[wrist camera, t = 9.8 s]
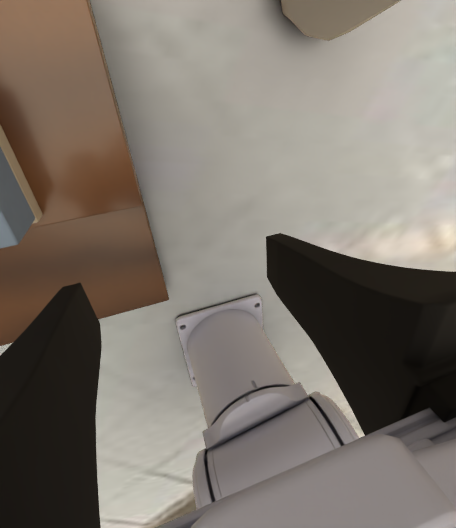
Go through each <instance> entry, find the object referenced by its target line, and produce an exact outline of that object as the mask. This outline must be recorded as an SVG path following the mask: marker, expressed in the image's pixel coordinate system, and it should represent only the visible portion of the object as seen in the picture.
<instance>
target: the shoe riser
mask: <svg viewBox="0 0 456 528" xmlns="http://www.w3.org/2000/svg"><path fill="white" fill-rule="evenodd" d="M0 125H1V127H2V129H3V131H4V133H5V135H6V137H7V140H8V142H9V144H10V146H11V148H12V150H13V152H14V154H15V157H16V159H17V161H18V163H19V165H20V167H21V169H22V171H23V173H24V176H25V178H26V180H27V182H28V184H29V186H30V188H31V190H32V193H33V195H34V197H35V199H36V201H37V203H38V205H39V207H40V210H41V212H42V214H43V215H42V217H41V218H40V220H39V222H37V223H33V224H31V226H30V227H29V229H28V230H27V232H26V234H25V235H24V237H23V238H22V240H21V241H20V243H19V244H18V245H14V246H9V247H5V248H0V346H2V345H5V344H9V343H13V342H14V341H15V340H16V339H17V338H18V337H19V336H20V335H21V334H22V333H23V332H24V331H25V329H26V328H27V327H28V326H29V325H30V324H31V323H32V322H33V320H34V319H35V318H36V317H37V316H38V315H39V313H40V312H41V311H42V310H43V309H44V308H45V306H46V305H47V304H48V303H49V302H50V300H51V299H52V298H53V297H54V296H55V295H56V293H57V292H58V291H59V290H60V289H61V288H62V287H64V286H69V285H73V284H77V283H81V284H82V286H83V289H84V291H85V293H86V295H87V297H88V299H89V301H90V304H91V306H92V308H93V310H94V312H95V314H96V316H97V318H98V319H101V318H104V317H108V316H112V315H115V314H119V313H123V312H126V311H130V310H134V309H137V308H141V307H145V306H148V305H152V304H156V303H159V302H163V301H167V300H169V297H168V292H167V288H166V285H165V281H164V277H163V273H162V270H161V266H160V262H159V258H158V255H157V251H156V247H155V243H154V240H153V236H152V232H151V228H150V225H149V221H148V217H147V213H146V210H145V206H144V202H143V198H142V195H141V191H140V187H139V183H138V180H137V176H136V172H135V168H134V165H133V161H132V157H131V153H130V150H129V146H128V142H127V138H126V135H125V131H124V127H123V123H122V120H121V116H120V112H119V108H118V105H117V101H116V97H115V93H114V90H113V86H112V82H111V78H110V75H109V71H108V67H107V63H106V60H105V56H104V52H103V48H102V45H101V41H100V37H99V33H98V30H97V26H96V22H95V18H94V15H93V11H92V7H91V3H90V0H0Z"/></svg>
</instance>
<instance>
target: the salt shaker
mask: <svg viewBox="0 0 456 528" xmlns="http://www.w3.org/2000/svg"><path fill="white" fill-rule="evenodd" d="M399 1H401V0H281V5H282V11H283V14H284V15H285V16H286V17H288V18H289V19H290V20H291V21H292V22H293V23H294V24H295V25H296V26H297V27H298V28H299V29H300V31H301V32H302V33H303V34H304V35H306V36H310V37H314V38H318V39H322V40H332V39H334V38H336V37H339V36H341V35H344V34H346V33H349V32H351V31H352V30H354V29H356V28H357V27H359V26H360V25H362V24H364V23H365V22H367V21H369V20H370V19H372V18H373V17H375V16H377V15H378V14H380V13H382V12H383V11H385V10H386V9H388V8H390V7H391V6H393V5H395V4H396V3H398V2H399Z"/></svg>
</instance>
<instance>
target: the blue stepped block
mask: <svg viewBox="0 0 456 528" xmlns="http://www.w3.org/2000/svg"><path fill="white" fill-rule="evenodd" d="M42 215H43V214H42V212H41V210H40V207H39V205H38V203H37V201H36V199H35V197H34V195H33V193H32V190H31V188H30V186H29V184H28V182H27V180H26V178H25V176H24V173H23V171H22V169H21V167H20V165H19V163H18V161H17V159H16V157H15V154H14V152H13V150H12V148H11V146H10V144H9V142H8V140H7V137H6V135H5V133H4V131H3V129H2V127H1V125H0V248H5V247H9V246H14V245H18V244H19V243H20V241H21V240H22V238H23V237H24V235H25V234H26V232H27V230H28V229H29V227H30V226H31V224H33V223H37V222H39V220H40V218H41V217H42Z"/></svg>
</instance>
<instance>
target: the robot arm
mask: <svg viewBox="0 0 456 528" xmlns="http://www.w3.org/2000/svg"><path fill="white" fill-rule="evenodd" d="M266 249H267V278H268V280H269V281H270V283H271V285H272V287H273V289H274V290H275V292H276V294H277V296H278V297H279V298H280V300H281V301H282V302H283V304H284V305H285V306H286V307H287V309H288V310H289V311H290V313H291V314H292V315H293V316H294V318H295V319H296V320H297V322H298V323H299V324H300V325H301V327H302V328H303V329H304V331H305V332H306V333H307V334H308V336H309V337H310V339H311V340H312V341H313V343H314V345H315V346H316V348H317V349H318V351H319V353H320V354H321V356H322V357H323V359H324V361H325V362H326V364H327V366H328V368H329V369H330V371H331V373H332V374H333V376H334V378H335V380H336V381H337V383H338V385H339V387H340V389H341V390H342V392H343V394H344V396H345V398H346V400H347V401H348V403H349V405H350V407H351V409H352V411H353V413H354V415H355V417H356V419H357V421H358V423H359V425H360V427H361V429H362V430H363V432H364V434H365V436H363V437H361V438H359V437H358V435H357V433H356V432H355V430H354V429H353V427H352V425H351V424H350V422H349V421H348V419H347V418H346V417H345V415H344V414H343V412H342V411H341V410H340V408H339V407H338V406H337V405H336V404H335V403H334V402H333V400H331V399H330V398H329V397H327V396H324V395H321V394H320V393H318V392H313V393H312V394H310V395H307V393H306V392H305V390H304V388H303V387H302V385H301V383H299V382H298V383H296V384H295V383H294V381H293V379H292V378H291V376H290V374H289V373H288V371H287V369H286V368H285V366H284V364H283V363H282V361H281V359H280V358H279V356H278V354H277V353H276V351H275V349H274V348H273V346H272V344H271V343H270V341H269V339H268V338H267V336H266V334H265V333H264V331H263V315H262V299H261V297H260V296H259V295H253V296H249V297H246V298H242V299H239V300H235V301H232V302H228V303H225V304H221V305H218V306H214V307H211V308H207V309H204V310H200V311H197V312H193V313H190V314H186V315H183V316H180V317H178V318H177V319H176V326H177V330H178V334H179V337H180V341H181V345H182V349H183V352H184V356H185V360H186V364H187V367H188V371H189V375H190V379H191V382H192V386H193V387H197V388H198V392H199V396H200V400H201V403H202V407H203V411H204V415H205V419H206V422H207V426H208V429H206V430H204V431H203V432H202V433H203V437H204V441H205V445H206V448H205V449H203V450H201V451H199V452H198V454H197V456H196V462H195V465H194V468H193V475H192V478H193V490H194V496H195V502H196V507H197V510H194V511H192V512H190V513H188V514H185V515H183V516H181V517H178V518H176V519H174V520H172V521H169V522H167V523H165V524H162V525H160V526H158V527H156V528H456V272H446V271H433V270H421V269H412V268H404V267H398V266H391V265H385V264H380V263H374V262H370V261H366V260H361V259H357V258H353V257H349V256H346V255H343V254H339V253H336V252H333V251H330V250H327V249H324V248H321V247H318V246H315V245H313V244H310V243H307V242H304V241H302V240H299V239H296V238H294V237H291V236H288V235H284V234H281V233H279V234H275V235H271V236H267V237H266ZM256 303H258V304H257V305H255V304H256ZM182 325H184V326H183V327H181V326H182ZM100 358H101V331H100V323H99V321H98V318H97V316H96V314H95V312H94V310H93V308H92V306H91V304H90V301H89V299H88V297H87V295H86V293H85V291H84V289H83V286H82V284H81V283H77V284H73V285H69V286H64V287H62V288H61V289H60V290H59V291H58V292H57V293H56V295H55V296H54V297H53V298H52V299H51V300H50V302H49V303H48V304H47V305H46V306H45V308H44V309H43V310H42V311H41V312H40V313H39V315H38V316H37V317H36V318H35V319H34V320H33V322H32V323H31V324H30V325H29V326H28V327H27V328H26V329H25V331H24V332H23V333H22V334H21V335H20V336H19V337H18V338H17V339H16V340H15V341H14V342H13V343H12V344H11V345H10V346H9V348H8V349H7V350H6V351H5V352H4V353H3V354H2V355H1V356H0V528H100V516H99V501H98V484H97V462H96V422H95V416H96V400H97V390H98V379H99V369H100Z"/></svg>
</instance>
